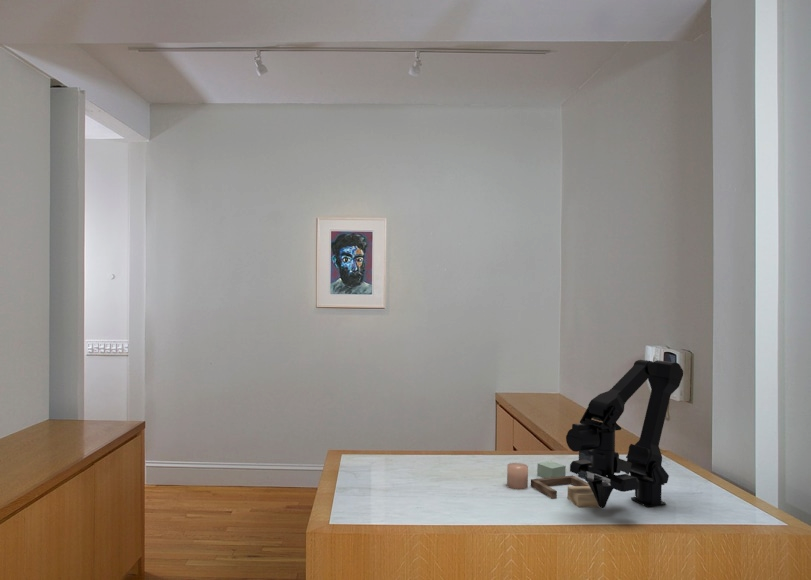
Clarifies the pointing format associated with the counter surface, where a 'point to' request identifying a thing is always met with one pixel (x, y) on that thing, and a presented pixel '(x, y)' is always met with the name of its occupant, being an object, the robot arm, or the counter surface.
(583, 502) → the oak block
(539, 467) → the matte sage squarish block
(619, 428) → the robot arm
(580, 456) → the box
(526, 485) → the tan round cylinder
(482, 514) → the counter surface
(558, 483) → the walnut bay
